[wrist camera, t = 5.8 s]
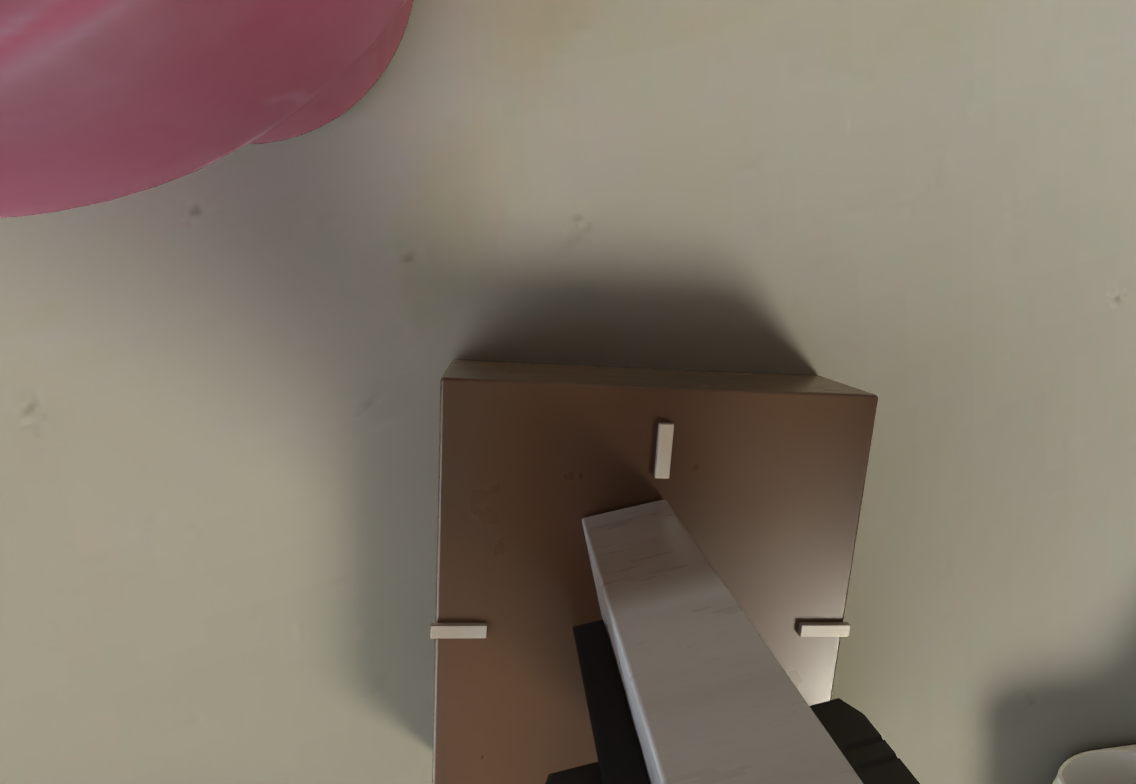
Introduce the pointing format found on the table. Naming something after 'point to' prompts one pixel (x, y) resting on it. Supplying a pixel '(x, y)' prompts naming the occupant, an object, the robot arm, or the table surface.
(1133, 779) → the white brass knuckles
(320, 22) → the flower pot
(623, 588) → the red-tipped white block
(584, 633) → the robot arm
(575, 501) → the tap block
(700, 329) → the table surface
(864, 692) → the table surface
